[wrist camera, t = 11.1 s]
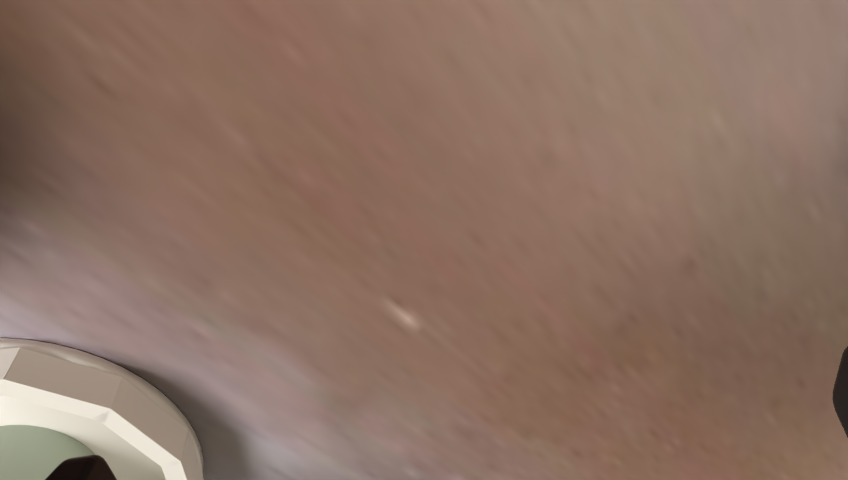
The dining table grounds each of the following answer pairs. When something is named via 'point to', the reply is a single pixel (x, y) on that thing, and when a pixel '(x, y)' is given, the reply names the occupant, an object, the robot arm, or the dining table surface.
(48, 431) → the pale green lidded canister
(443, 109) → the dining table surface
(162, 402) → the round white tray
